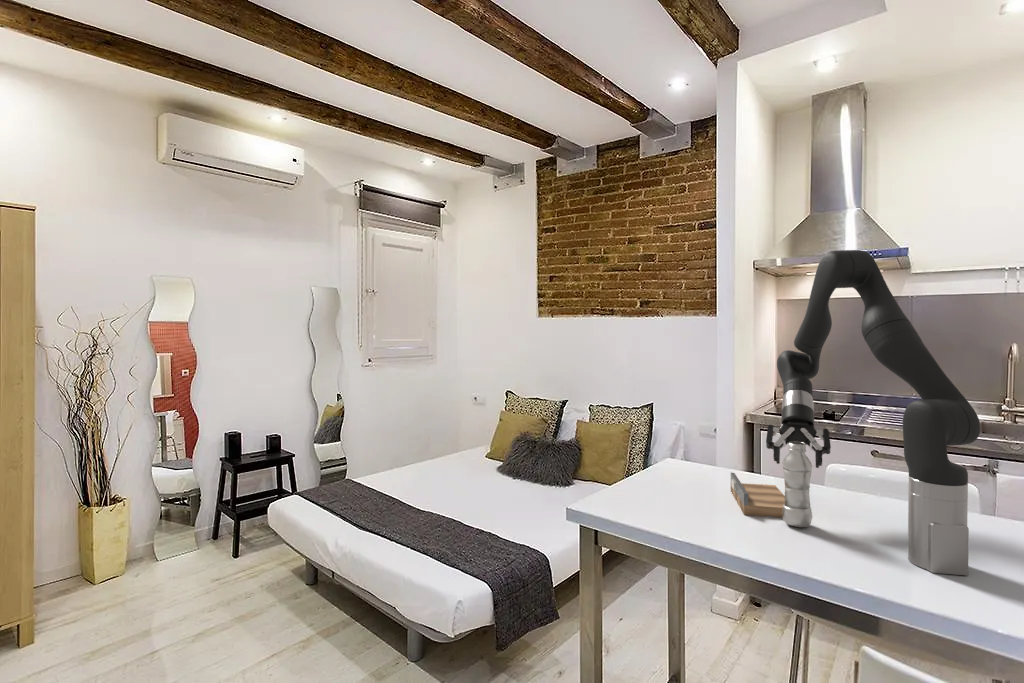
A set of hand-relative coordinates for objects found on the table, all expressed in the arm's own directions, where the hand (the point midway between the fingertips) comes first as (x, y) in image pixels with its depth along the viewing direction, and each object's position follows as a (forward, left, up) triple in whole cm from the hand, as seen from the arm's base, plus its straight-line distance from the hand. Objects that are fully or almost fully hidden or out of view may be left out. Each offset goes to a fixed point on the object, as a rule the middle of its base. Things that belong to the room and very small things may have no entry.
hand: (797, 464), depth 129 cm
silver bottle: (-3, +1, -14) cm, 15 cm away
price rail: (+12, +12, -12) cm, 20 cm away
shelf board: (+12, +6, -14) cm, 19 cm away
